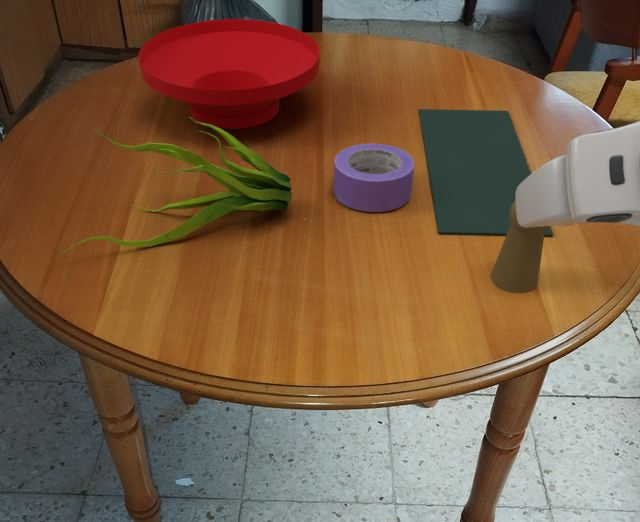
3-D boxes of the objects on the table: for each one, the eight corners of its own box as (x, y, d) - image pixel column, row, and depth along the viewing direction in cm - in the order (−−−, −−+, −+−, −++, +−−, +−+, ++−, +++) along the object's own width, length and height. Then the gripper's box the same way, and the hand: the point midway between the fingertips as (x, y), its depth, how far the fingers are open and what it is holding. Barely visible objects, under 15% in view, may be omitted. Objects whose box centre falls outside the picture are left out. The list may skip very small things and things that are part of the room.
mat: (418, 111, 121) (418, 108, 121) (507, 112, 121) (508, 110, 121) (438, 234, 95) (438, 231, 94) (552, 236, 94) (553, 234, 94)
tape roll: (334, 172, 106) (335, 141, 102) (408, 174, 106) (412, 143, 102) (332, 212, 98) (333, 180, 95) (413, 214, 98) (417, 182, 94)
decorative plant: (95, 197, 101) (68, 95, 90) (294, 199, 101) (291, 97, 90) (62, 267, 89) (27, 160, 78) (288, 270, 89) (283, 163, 78)
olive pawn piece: (526, 262, 90) (547, 185, 82) (545, 289, 86) (570, 211, 78) (483, 267, 89) (500, 190, 81) (501, 295, 85) (521, 217, 77)
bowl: (206, 66, 135) (199, 9, 127) (346, 93, 126) (348, 34, 119) (113, 127, 116) (100, 66, 109) (270, 165, 108) (267, 100, 100)
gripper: (795, 122, 55) (685, 177, 68) (554, 137, 53) (491, 190, 66) (800, 201, 55) (689, 239, 69) (561, 219, 53) (496, 255, 67)
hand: (590, 215), depth 68 cm, fingers open, 4 cm apart
